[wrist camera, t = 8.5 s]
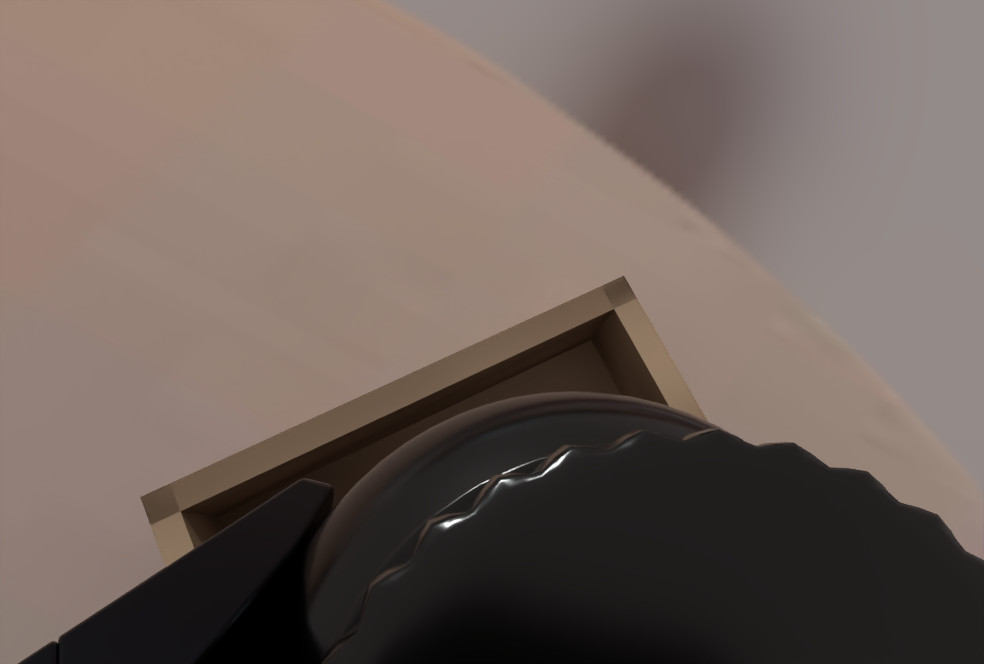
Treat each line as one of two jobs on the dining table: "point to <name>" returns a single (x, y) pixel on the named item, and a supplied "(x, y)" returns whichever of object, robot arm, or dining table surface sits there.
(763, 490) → the supplement bottle
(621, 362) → the wooden desk organizer
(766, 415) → the dining table surface
